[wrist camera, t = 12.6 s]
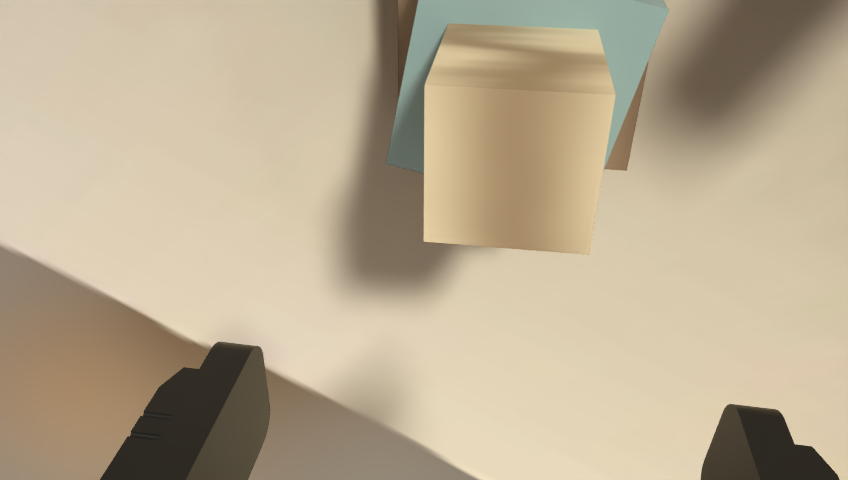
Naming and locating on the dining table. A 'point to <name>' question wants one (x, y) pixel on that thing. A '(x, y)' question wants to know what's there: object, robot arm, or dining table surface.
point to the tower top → (529, 7)
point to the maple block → (516, 137)
